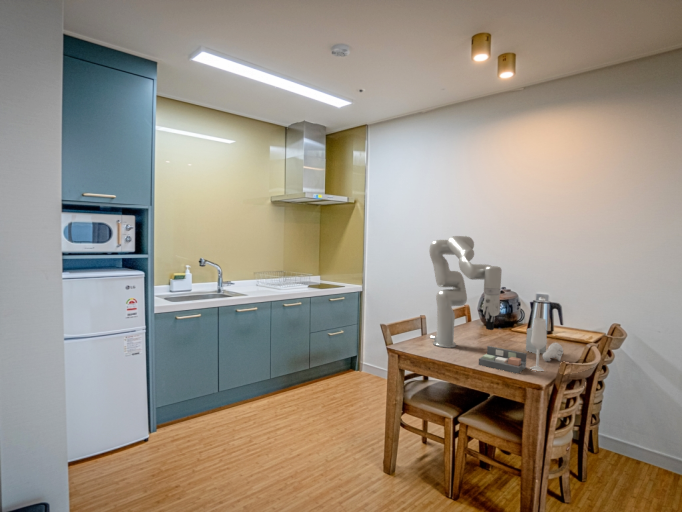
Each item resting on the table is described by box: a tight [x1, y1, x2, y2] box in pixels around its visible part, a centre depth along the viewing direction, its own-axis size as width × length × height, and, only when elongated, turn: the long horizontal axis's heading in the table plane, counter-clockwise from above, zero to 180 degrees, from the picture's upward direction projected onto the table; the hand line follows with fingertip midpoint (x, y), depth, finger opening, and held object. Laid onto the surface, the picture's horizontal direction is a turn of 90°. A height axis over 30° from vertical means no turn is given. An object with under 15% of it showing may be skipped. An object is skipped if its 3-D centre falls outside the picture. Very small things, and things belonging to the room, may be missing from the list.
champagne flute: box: [529, 317, 548, 371], centre depth 188 cm, size 7×7×24 cm
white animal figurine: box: [541, 342, 564, 362], centre depth 204 cm, size 6×8×12 cm
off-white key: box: [495, 357, 508, 363], centre depth 190 cm, size 4×4×2 cm
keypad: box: [478, 345, 528, 374], centre depth 192 cm, size 18×12×7 cm, turn 50°
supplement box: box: [525, 327, 548, 355], centre depth 219 cm, size 7×7×13 cm
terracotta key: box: [508, 357, 521, 366], centre depth 187 cm, size 4×4×2 cm
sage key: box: [481, 353, 495, 360], centre depth 194 cm, size 4×4×2 cm
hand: (489, 329), depth 194 cm, fingers closed
